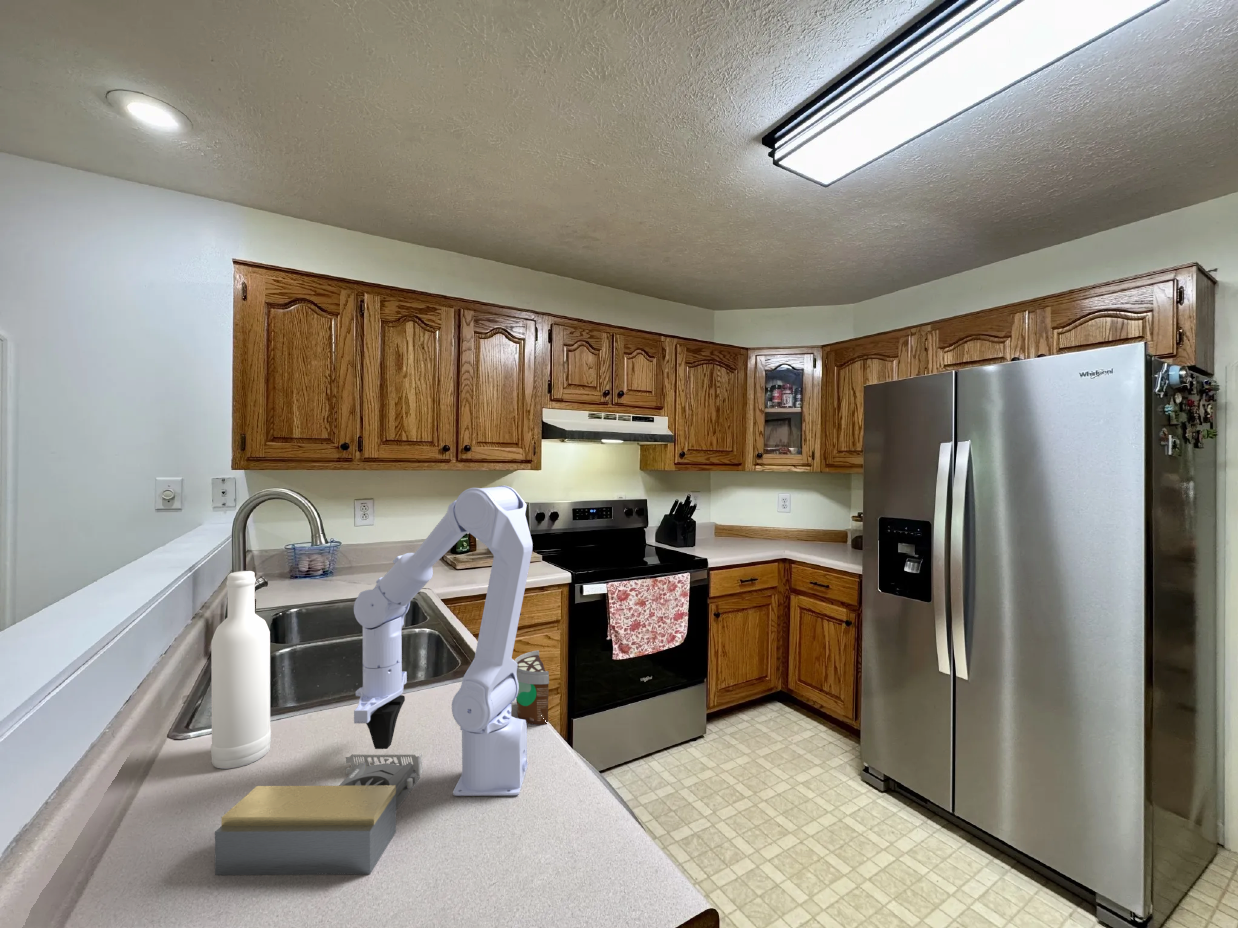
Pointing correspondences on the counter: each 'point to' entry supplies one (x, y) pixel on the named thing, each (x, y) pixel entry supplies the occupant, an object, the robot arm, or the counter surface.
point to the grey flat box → (306, 830)
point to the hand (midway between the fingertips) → (382, 746)
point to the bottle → (240, 679)
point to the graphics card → (385, 773)
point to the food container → (532, 689)
